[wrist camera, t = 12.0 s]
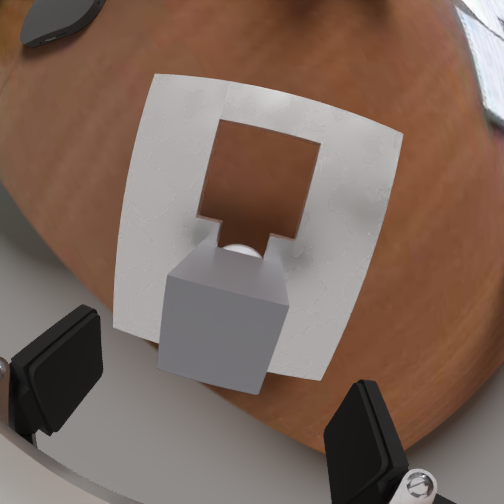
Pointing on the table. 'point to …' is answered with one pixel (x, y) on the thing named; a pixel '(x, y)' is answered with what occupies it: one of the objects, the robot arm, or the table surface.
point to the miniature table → (278, 247)
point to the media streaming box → (57, 19)
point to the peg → (222, 317)
